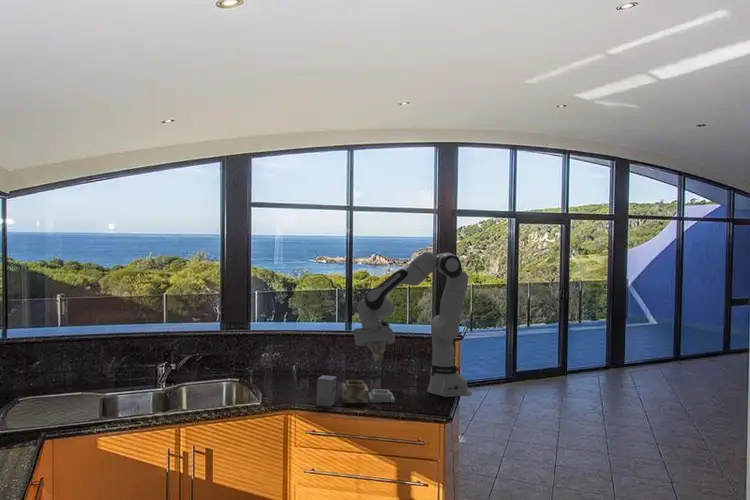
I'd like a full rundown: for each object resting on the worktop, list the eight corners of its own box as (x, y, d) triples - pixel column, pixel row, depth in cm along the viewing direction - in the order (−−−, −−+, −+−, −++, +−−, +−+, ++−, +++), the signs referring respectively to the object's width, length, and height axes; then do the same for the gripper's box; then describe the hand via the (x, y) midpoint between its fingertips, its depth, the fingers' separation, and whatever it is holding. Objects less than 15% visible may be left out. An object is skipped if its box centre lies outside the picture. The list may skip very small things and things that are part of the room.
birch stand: (365, 395, 297) (366, 379, 297) (368, 403, 285) (368, 386, 285) (341, 395, 296) (342, 379, 296) (342, 402, 284) (343, 386, 284)
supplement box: (331, 407, 277) (332, 380, 276) (316, 405, 278) (317, 378, 278) (335, 402, 284) (336, 376, 283) (320, 401, 285) (321, 374, 285)
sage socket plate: (391, 395, 300) (391, 388, 300) (395, 402, 288) (395, 395, 288) (367, 395, 298) (367, 388, 298) (370, 402, 287) (370, 395, 286)
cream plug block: (380, 359, 295) (380, 343, 294) (383, 361, 291) (383, 344, 290) (372, 359, 293) (372, 343, 293) (375, 361, 289) (375, 345, 289)
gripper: (353, 325, 294) (360, 349, 285) (392, 323, 301) (399, 346, 293) (350, 332, 298) (356, 356, 289) (388, 330, 306) (395, 353, 297)
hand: (378, 351), depth 291 cm, fingers closed on cream plug block, 4 cm apart
